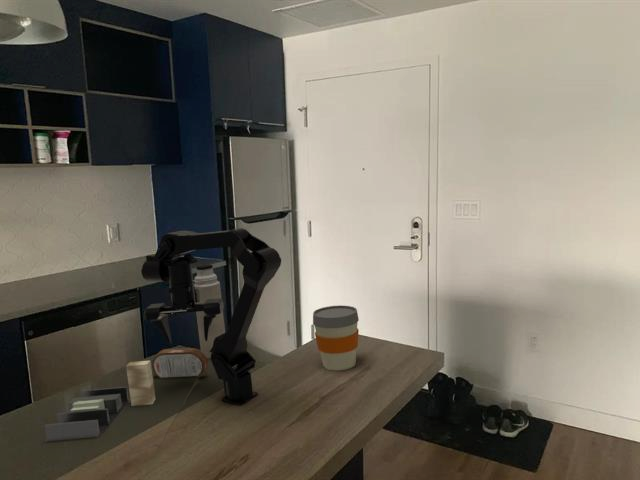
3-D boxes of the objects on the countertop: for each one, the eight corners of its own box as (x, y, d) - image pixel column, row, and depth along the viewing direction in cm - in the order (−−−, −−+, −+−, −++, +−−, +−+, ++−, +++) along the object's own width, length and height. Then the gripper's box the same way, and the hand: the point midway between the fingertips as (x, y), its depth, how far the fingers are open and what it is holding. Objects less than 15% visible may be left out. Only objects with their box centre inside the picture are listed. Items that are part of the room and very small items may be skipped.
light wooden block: (156, 403, 122) (150, 360, 121) (152, 408, 120) (147, 364, 118) (135, 405, 122) (129, 362, 121) (132, 409, 119) (126, 366, 118)
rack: (131, 403, 123) (128, 386, 122) (101, 440, 106) (98, 420, 105) (82, 407, 123) (80, 390, 122) (45, 445, 105) (41, 425, 105)
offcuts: (105, 415, 115) (103, 397, 115) (99, 423, 112) (96, 404, 111) (80, 417, 115) (77, 399, 115) (72, 425, 112) (69, 407, 111)
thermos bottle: (212, 348, 160) (202, 262, 156) (232, 350, 156) (222, 262, 153) (196, 357, 153) (185, 267, 149) (217, 359, 149) (206, 267, 146)
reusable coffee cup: (320, 356, 144) (315, 306, 143) (363, 355, 143) (359, 304, 141) (313, 373, 132) (308, 319, 130) (360, 372, 130) (356, 317, 128)
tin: (209, 375, 137) (206, 346, 136) (205, 380, 134) (202, 350, 133) (157, 377, 139) (153, 348, 138) (152, 382, 136) (148, 352, 135)
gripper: (224, 272, 132) (230, 329, 134) (153, 278, 132) (160, 335, 134) (216, 281, 121) (223, 342, 123) (139, 287, 121) (147, 349, 123)
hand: (188, 342), depth 126 cm, fingers open, 9 cm apart
